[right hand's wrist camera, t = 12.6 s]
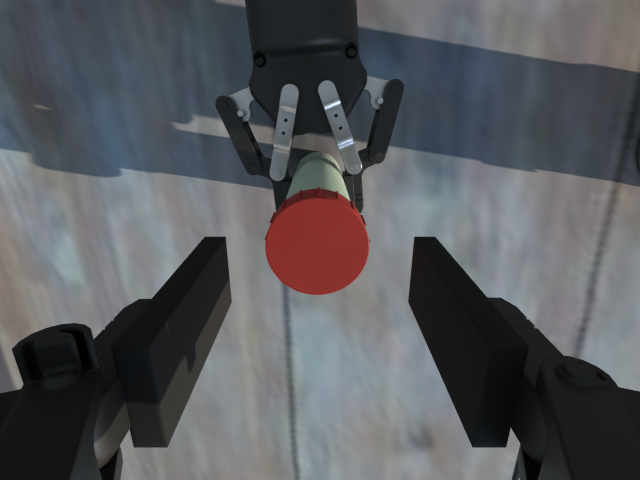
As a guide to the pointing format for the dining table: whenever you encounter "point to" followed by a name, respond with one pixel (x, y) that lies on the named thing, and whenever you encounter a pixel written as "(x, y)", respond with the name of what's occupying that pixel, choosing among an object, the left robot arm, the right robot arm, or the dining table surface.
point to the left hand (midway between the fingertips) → (320, 219)
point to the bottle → (318, 175)
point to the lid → (317, 242)
